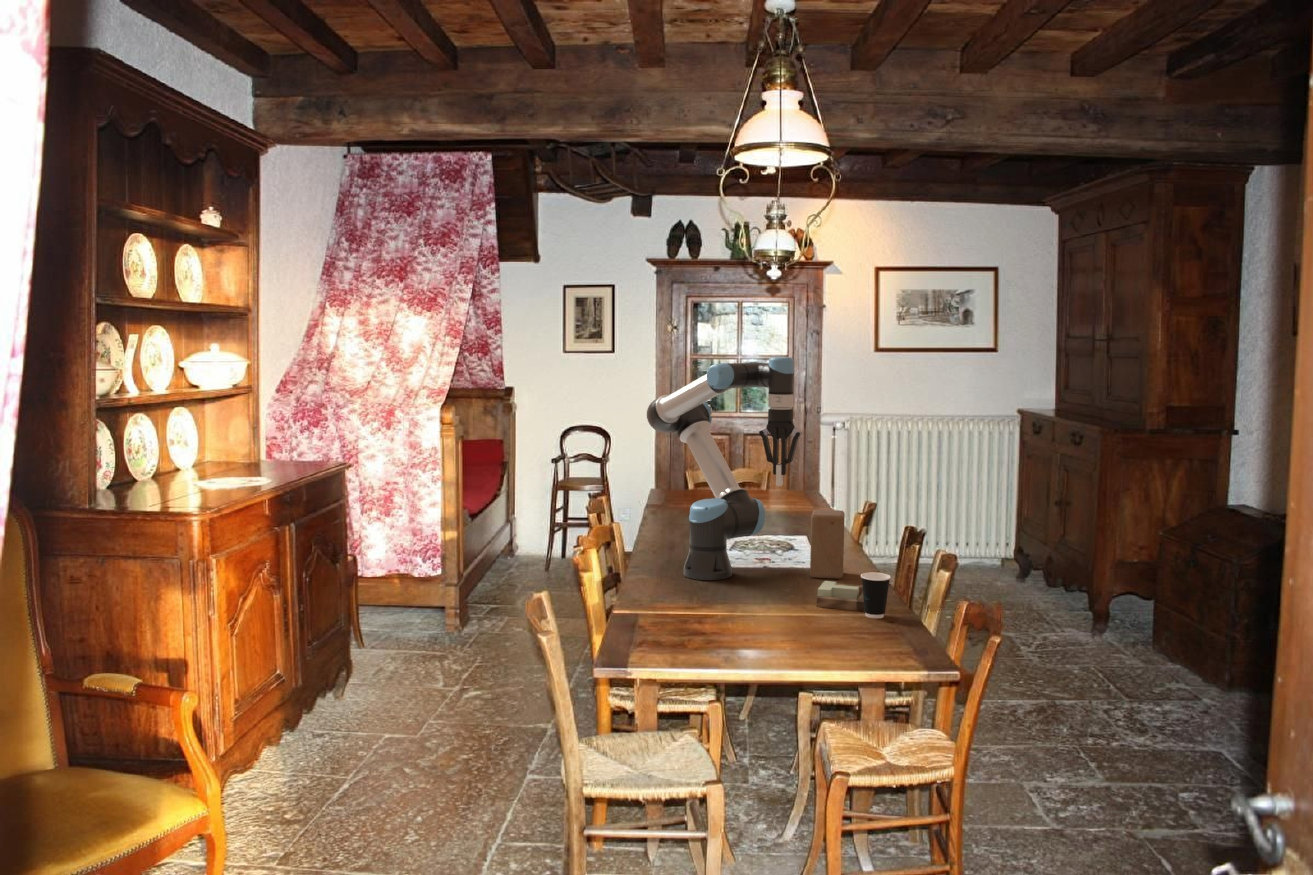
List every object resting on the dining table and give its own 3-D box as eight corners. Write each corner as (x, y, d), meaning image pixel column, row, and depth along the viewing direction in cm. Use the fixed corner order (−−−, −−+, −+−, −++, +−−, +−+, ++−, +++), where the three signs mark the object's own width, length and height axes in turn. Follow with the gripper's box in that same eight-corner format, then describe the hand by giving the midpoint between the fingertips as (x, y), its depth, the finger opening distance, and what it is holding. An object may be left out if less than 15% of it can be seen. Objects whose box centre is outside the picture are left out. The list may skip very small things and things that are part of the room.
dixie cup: (853, 615, 269) (854, 575, 267) (870, 610, 274) (871, 570, 273) (878, 621, 263) (879, 580, 262) (895, 616, 268) (896, 575, 267)
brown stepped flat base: (816, 606, 277) (816, 597, 277) (828, 590, 294) (828, 582, 294) (863, 611, 273) (864, 602, 273) (873, 594, 290) (873, 586, 289)
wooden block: (842, 579, 307) (844, 515, 305) (809, 578, 309) (811, 514, 307) (843, 572, 317) (844, 510, 315) (811, 570, 319) (812, 508, 317)
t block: (817, 602, 281) (817, 588, 281) (824, 594, 291) (824, 580, 290) (855, 606, 278) (855, 592, 277) (860, 597, 287) (860, 583, 287)
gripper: (756, 408, 300) (755, 486, 303) (799, 409, 296) (797, 488, 298) (763, 406, 307) (761, 482, 310) (804, 408, 302) (803, 485, 305)
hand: (779, 485), depth 304 cm, fingers closed
